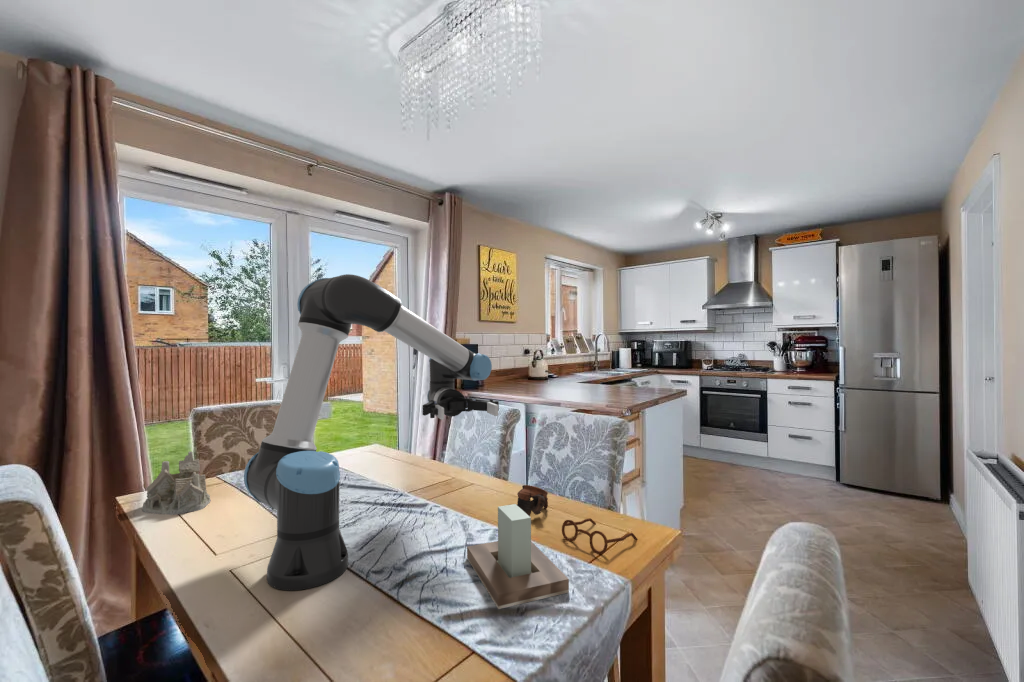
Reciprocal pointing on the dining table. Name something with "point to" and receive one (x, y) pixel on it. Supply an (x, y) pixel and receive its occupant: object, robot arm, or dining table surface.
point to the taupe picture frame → (520, 588)
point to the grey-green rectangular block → (514, 540)
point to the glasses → (591, 534)
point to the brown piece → (535, 504)
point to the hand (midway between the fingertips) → (470, 412)
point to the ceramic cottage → (177, 489)
